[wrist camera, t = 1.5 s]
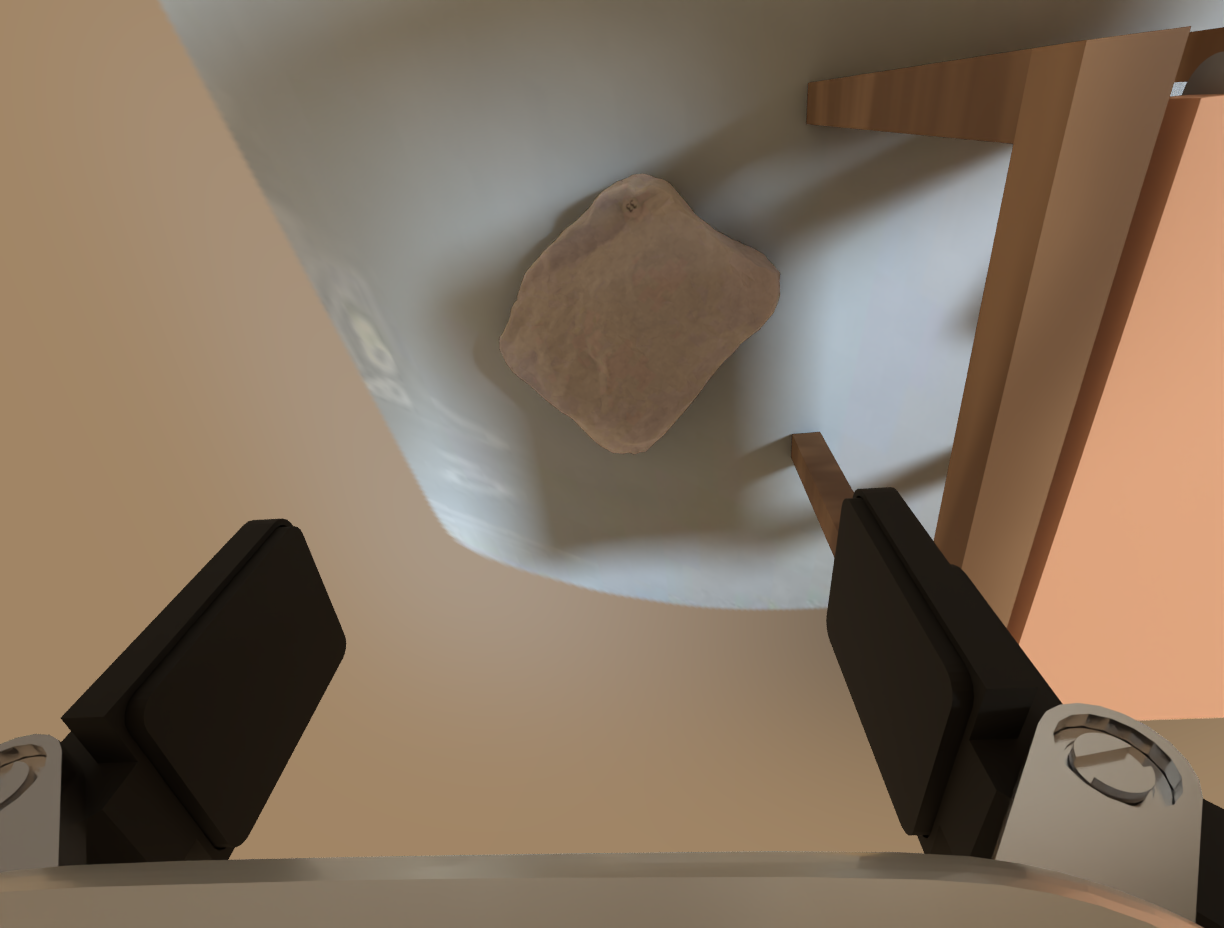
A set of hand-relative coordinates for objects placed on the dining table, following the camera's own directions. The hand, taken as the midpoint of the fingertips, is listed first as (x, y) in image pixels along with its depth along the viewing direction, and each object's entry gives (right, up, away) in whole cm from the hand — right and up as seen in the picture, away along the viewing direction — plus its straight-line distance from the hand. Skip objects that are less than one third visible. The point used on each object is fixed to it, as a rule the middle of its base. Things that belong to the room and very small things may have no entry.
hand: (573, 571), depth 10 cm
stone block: (+1, +10, +20) cm, 22 cm away
